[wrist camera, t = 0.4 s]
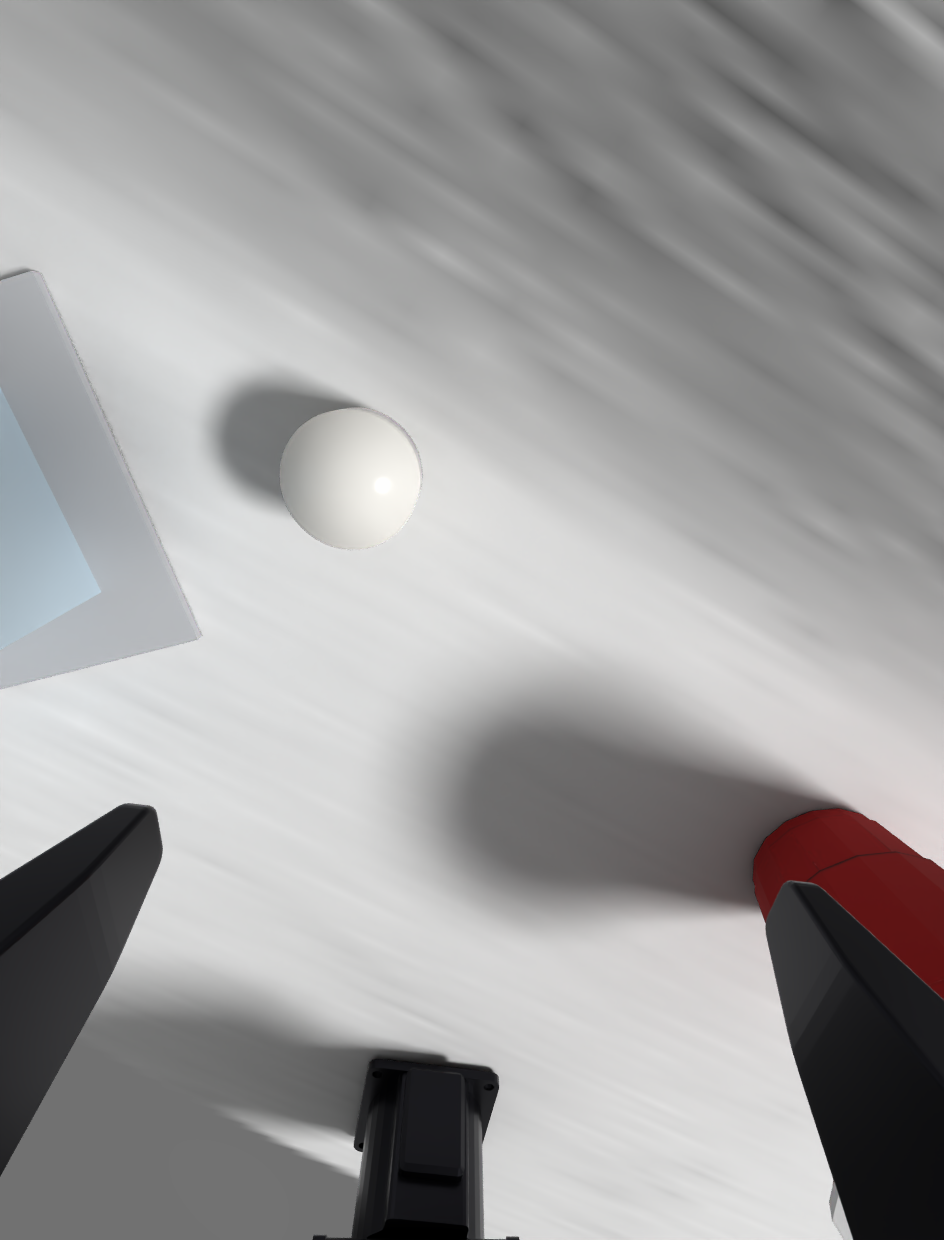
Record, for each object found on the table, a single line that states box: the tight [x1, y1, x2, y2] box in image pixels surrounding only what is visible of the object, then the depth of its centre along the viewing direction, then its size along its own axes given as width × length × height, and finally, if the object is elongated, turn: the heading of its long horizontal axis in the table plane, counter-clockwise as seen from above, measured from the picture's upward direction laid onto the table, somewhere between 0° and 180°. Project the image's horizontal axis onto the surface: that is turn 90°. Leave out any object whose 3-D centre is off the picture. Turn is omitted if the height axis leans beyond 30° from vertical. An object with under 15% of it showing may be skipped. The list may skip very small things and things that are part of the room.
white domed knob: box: [279, 407, 423, 550], centre depth 19 cm, size 4×4×3 cm
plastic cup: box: [753, 808, 944, 1240], centre depth 21 cm, size 11×11×12 cm
